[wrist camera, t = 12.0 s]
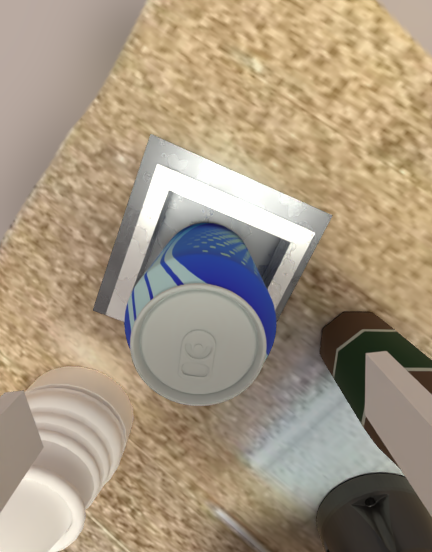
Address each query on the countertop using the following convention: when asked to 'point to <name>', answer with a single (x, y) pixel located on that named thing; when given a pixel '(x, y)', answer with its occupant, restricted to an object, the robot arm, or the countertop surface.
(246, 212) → the silver square tray
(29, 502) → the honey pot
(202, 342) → the beer can
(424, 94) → the countertop surface
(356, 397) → the beer bottle
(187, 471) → the countertop surface
